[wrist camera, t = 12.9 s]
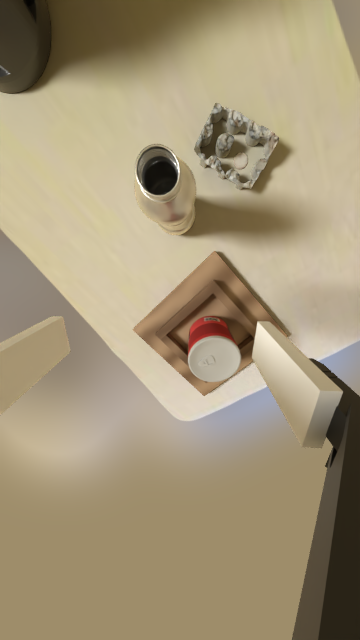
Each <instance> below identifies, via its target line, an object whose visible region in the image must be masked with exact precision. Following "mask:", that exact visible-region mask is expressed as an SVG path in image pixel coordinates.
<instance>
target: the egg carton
mask: <svg viewBox="0 0 360 640" xmlns="http://www.w3.org/2000/svg"><path fill="white" fill-rule="evenodd" d="M221 118H222V119H225V120H226V121H227V131H228V132H229V133H230V134H231V135H229V134H227V133H223V134H221V135H220V136H219V137H218V139H217V143H216V148H215V152H216V155H217V156H218V157H219V158H224V157H226V156H227V155H228V154H229V152H230V149H231V147H232V144H233V141H234V137H233V136H232V135H236V134H237V133H238V132H239V131H240V132H243V133H245V134H246V136H245V141H246V144H247V145H248V146H251V147H253V146H255V145H257V144H258V143H260V144H262V145H263V146H264V149H263V153H264V156H265V157H266V159H265V158H264V159H260V160H259V161H258V162H256V164H255V165H254V167H253V168H252V171H251V176H252V178H253V180H250V181H248V182H246V183H241V182H240V181H239V174H238V172H237V171H235V170H234V169H233V168H232V169H230V170H228V171H227V173H226V174H225V173H224V171H223V170H222V168H221V162H220V161H219V160H218V158H217V157H216V156H210V157H209V158H208V159H206V158H205V154H204V153H202V154H201V150H200V147H202V146H203V147H204V146H207V145H208V144H209V143H210V142H211V138H212V133H213V124H212V123H211V122H214V123H216V122H218V121H220V119H221ZM278 141H279V137H278V136H276V135H275V133H273V132H272V131H270V130H269V129H268V128H266V127H263V126H261V127H260V126H258V125H257V124H256V123H255V122H254V121H253V120H249V119H248V118H247V117H245V116H244V115H242V114H241V113H240V112H237V111H235V110H232V109H228V108H223V107H222V106H221V104H219V103H215V106H214V108H213V110H212V112H211V114H210V116H209V118H208V120H207V122H206V124H205V126H204V128H203V130H202V132H201V134H200V136H199V139H198V141H197V143H196V146H195V149H194V150H195V152H196V153H197V155H198V156H199V157H200V158H201V159H200V165H201V166H202V167H204V168H205V167H206V166H207V165H209V166H210V167H211V168H215V169H216V170H217V171H218V177H220V178H221V179H224V178H225V177H226V178H227V179H228V180H229V181H231V182H233V183H235V184H236V186H235V187H236V188H237V189H239V190H241V189H242V188H243V187H245V188H250V189H251V188H252V186H253V184H254V183H255V181H256V180H257V178H258V176H259V175H260V172H261V171H262V170H263V169H264V167H265V166H266V164H267V162H268V158H269V156H270V155H271V153H272V151H273V150H274V148H275V146H276V144H277V143H278ZM247 163H248V158H247V155H246V154H245V153H242V152H241V153H238V154H237V155H236V156H235V157H234V166H235V167H236V168H237V169H243V168H245V167H246V165H247ZM220 170H222V171H220Z"/></svg>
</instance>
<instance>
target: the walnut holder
mask: <svg viewBox="0 0 360 640" xmlns="http://www.w3.org/2000/svg"><path fill="white" fill-rule="evenodd" d="M205 316H214V317H218V318H220V319H222V320H223V321H224V322H225V323H226V324H227V326H228V328H229V330H230V332H231V334H232V336H233V338H234V340H235V342H236V344H237V346H238V348H239V350H240V354H241V363H240V366H239V368H238V370H237V371H236V373H237V372H238V371H240V370H241V369H243V368H244V367H245V366H247V365H248V364H250V363H251V362H252V361H253V359H252V353H253V346H254V340H255V334H256V328H257V322H258V321H268V322H270V323H271V324H272V325H274V326H275V327H276V328H277V329H278V330H279V331H280V332H281V333H282V334H283V335H284V336H285V337H287V335H286V333H285V332H284V331H283V330H282V329H281V328H280V326H279V325H278V324H277V323H276V322H275V321H274V319H273V318H272V317H271V316H270V315H269V314H268V312H267V311H266V310H265V309H264V308H263V307H262V305H261V304H260V303H259V302H258V301H257V300H256V298H255V297H254V296H253V295H252V294H251V293H250V291H249V290H248V289H247V288H246V287H245V286H244V284H243V283H242V282H241V281H240V280H239V279H238V277H237V276H236V275H235V274H234V273H233V272H232V270H231V269H230V268H229V267H228V266H227V265H226V263H225V262H224V261H223V260H222V259H221V258H220V256H219V255H218V254H217V253H216V252H215V251H214V252H213V253H212V254H211V255H210V256H209V257H208V258H207V259H205V260H204V261H203V262H202V263H201V264H200V265H199V266H198V267H197V268H196V269H195V270H194V271H193V272H192V273H191V274H190V275H189V276H188V277H187V278H186V279H185V280H183V281H182V282H181V283H180V284H179V285H178V286H177V287H176V288H175V289H174V290H173V291H172V292H171V293H170V294H169V295H168V296H167V297H166V298H165V299H164V300H163V301H162V302H160V303H159V304H158V305H157V306H156V307H155V308H154V309H153V310H152V311H151V312H150V313H149V314H148V315H147V316H146V317H145V318H144V319H143V320H142V321H141V322H140V323H139V324H137V325H136V326H135V327H134V329H133V331H135V332H136V333H137V334H138V335H139V336H140V337H141V338H142V339H143V340H144V341H145V342H146V343H147V344H149V345H150V346H151V347H152V348H153V349H154V350H155V351H156V352H157V353H158V354H159V355H160V356H161V357H163V358H164V359H165V360H166V361H167V362H168V363H169V364H170V365H171V366H172V367H173V368H174V369H175V370H177V371H178V372H179V373H180V374H181V375H182V376H183V377H184V378H185V379H186V380H187V381H188V382H189V383H191V384H192V385H193V386H194V387H195V388H196V389H197V390H198V391H199V392H200V393H201V394H202V395H203V396H205V395H206V394H208V393H209V392H211V391H212V390H213V389H215V388H216V387H218V386H219V385H220V384H222V383H223V382H224V381H226V380H227V379H226V380H223V381H219V382H207V381H203V380H201V379H199V378H198V377H196V376H195V375H194V374H193V373H192V371H191V370H190V368H189V364H188V339H189V330H190V327H191V326H192V324H193V323H194V322H195V321H197V320H198V319H200V318H202V317H205ZM236 373H235V374H236ZM232 376H233V375H232ZM228 379H229V378H228Z"/></svg>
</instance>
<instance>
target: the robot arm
mask: <svg viewBox="0 0 360 640" xmlns="http://www.w3.org/2000/svg"><path fill="white" fill-rule="evenodd" d="M50 45H51V26H50V17H49V12H48V8H47V4H46V0H0V91H1V92H6V93H16V92H21V91H24V90H26V89H28V88H29V87H31V86H32V85H33V84H34V83H35V82H36V81H37V80H38V79H39V77H40V76H41V74H42V73H43V71H44V69H45V66H46V63H47V61H48V57H49V52H50ZM69 353H70V347H69V342H68V338H67V333H66V328H65V323H64V319H63V317H62V316H52V317H50V318H48V319H46V320H44V321H42V322H40V323H38V324H36V325H34V326H32V327H30V328H28V329H26V330H25V331H23V332H21V333H19V334H17V335H15V336H13V337H11V338H9V339H7V340H5V341H3V342H1V343H0V415H1V414H2V413H3V412H4V411H5V410H6V409H8V408H9V407H10V406H11V405H12V404H13V403H14V402H15V401H16V400H18V399H19V398H20V397H21V396H22V395H23V394H24V393H25V392H27V391H28V390H29V389H30V388H31V387H32V386H33V385H34V384H35V383H37V382H38V381H39V380H40V379H41V378H42V377H43V376H44V375H45V374H47V373H48V372H49V371H50V370H51V369H52V368H53V367H54V366H55V365H56V364H58V363H59V362H60V361H61V360H62V359H63V358H64V357H65V356H66V355H68V354H69ZM252 359H253V361H254V362H255V364H256V366H257V368H258V370H259V371H260V373H261V375H262V377H263V379H264V380H265V382H266V384H267V386H268V387H269V389H270V391H271V393H272V395H273V396H274V398H275V400H276V402H277V404H278V405H279V407H280V409H281V411H282V412H283V414H284V416H285V418H286V420H287V421H288V423H289V425H290V427H291V428H292V430H293V432H294V434H295V436H296V437H297V439H298V441H299V443H300V444H301V446H302V447H311V448H322V446H323V444H324V441H325V438H326V437H327V438H328V440H329V441H330V442H331V444H332V445H333V448H332V451H331V453H330V456H329V458H328V461H327V463H326V465H325V467H327V473H326V478H325V482H324V488H323V492H322V497H321V502H320V507H319V511H318V516H317V521H316V526H315V531H314V535H313V540H312V545H311V550H310V555H309V560H308V564H307V569H306V574H305V579H304V584H303V588H302V594H301V598H300V603H299V608H298V613H297V617H296V622H295V627H294V632H293V637H292V640H360V397H359V395H357V394H356V393H355V392H354V391H353V390H352V389H351V388H350V387H348V386H347V385H346V384H345V383H344V382H343V381H342V380H340V379H339V378H338V377H337V376H336V375H335V374H334V373H331V371H330V370H329V369H328V368H327V367H326V366H325V365H324V364H322V363H320V362H318V361H316V360H314V359H309V358H307V357H306V356H305V355H304V354H303V353H302V352H301V351H300V350H299V349H298V348H297V347H296V346H295V345H294V344H293V343H291V342H290V341H289V340H288V339H287V338H286V337H285V336H284V335H283V334H282V333H281V332H280V331H279V330H278V329H277V328H276V327H275V326H274V325H272V324H271V323H270V322H268V321H258V322H257V328H256V334H255V340H254V346H253V353H252Z"/></svg>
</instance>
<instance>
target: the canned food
mask: <svg viewBox="0 0 360 640" xmlns="http://www.w3.org/2000/svg"><path fill="white" fill-rule="evenodd" d="M240 363H241V354H240V350H239V348H238V346H237V344H236V342H235V340H234V338H233V336H232V334H231V332H230V330H229V328H228V326H227V324H226V323H225V322H224V321H223V320H222V319H220V318H218V317H214V316H205V317H202V318H200V319H198V320H197V321H195V322H194V323H193V324H192V326H191V327H190V330H189V339H188V364H189V368H190V370H191V371H192V373H193V374H194V375H195V376H196V377H198V378H199V379H201V380H203V381H207V382H219V381H223V380H226V379H228V378H230V377H231V376H232V375H234V374H235V373H236V371H237V370H238V368H239V366H240Z"/></svg>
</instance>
